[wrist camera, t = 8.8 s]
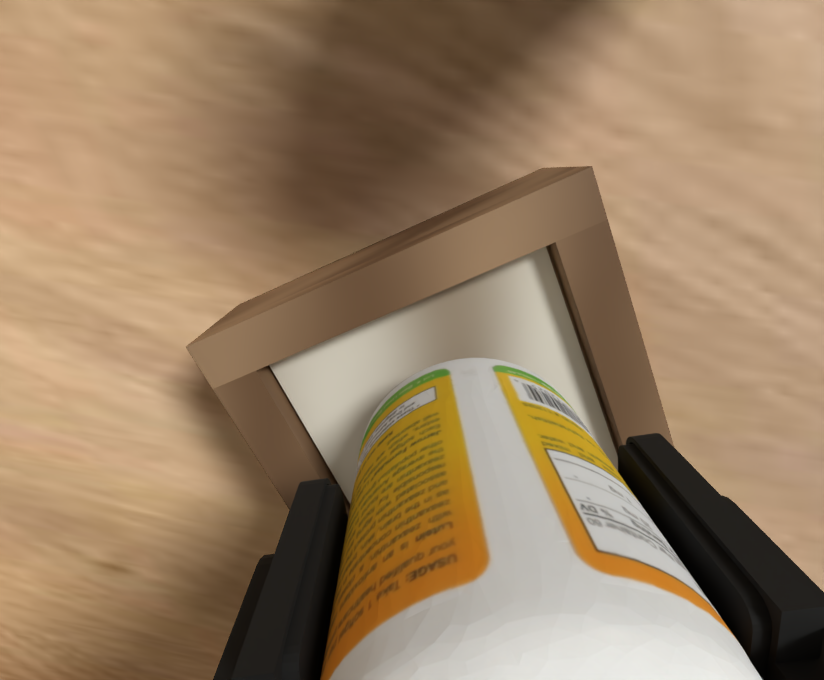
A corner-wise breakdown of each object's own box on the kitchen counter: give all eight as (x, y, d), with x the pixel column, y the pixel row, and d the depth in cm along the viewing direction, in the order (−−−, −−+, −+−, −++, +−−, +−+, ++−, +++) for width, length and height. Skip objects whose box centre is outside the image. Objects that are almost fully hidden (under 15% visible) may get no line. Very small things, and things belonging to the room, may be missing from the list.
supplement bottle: (370, 546, 13) (272, 1507, 4) (350, 358, 11) (53, 1306, 2) (572, 535, 13) (1006, 1486, 3) (585, 345, 11) (1525, 1252, 2)
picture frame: (542, 167, 14) (592, 166, 10) (633, 445, 17) (695, 519, 13) (238, 305, 15) (185, 347, 11) (375, 540, 18) (367, 631, 14)
